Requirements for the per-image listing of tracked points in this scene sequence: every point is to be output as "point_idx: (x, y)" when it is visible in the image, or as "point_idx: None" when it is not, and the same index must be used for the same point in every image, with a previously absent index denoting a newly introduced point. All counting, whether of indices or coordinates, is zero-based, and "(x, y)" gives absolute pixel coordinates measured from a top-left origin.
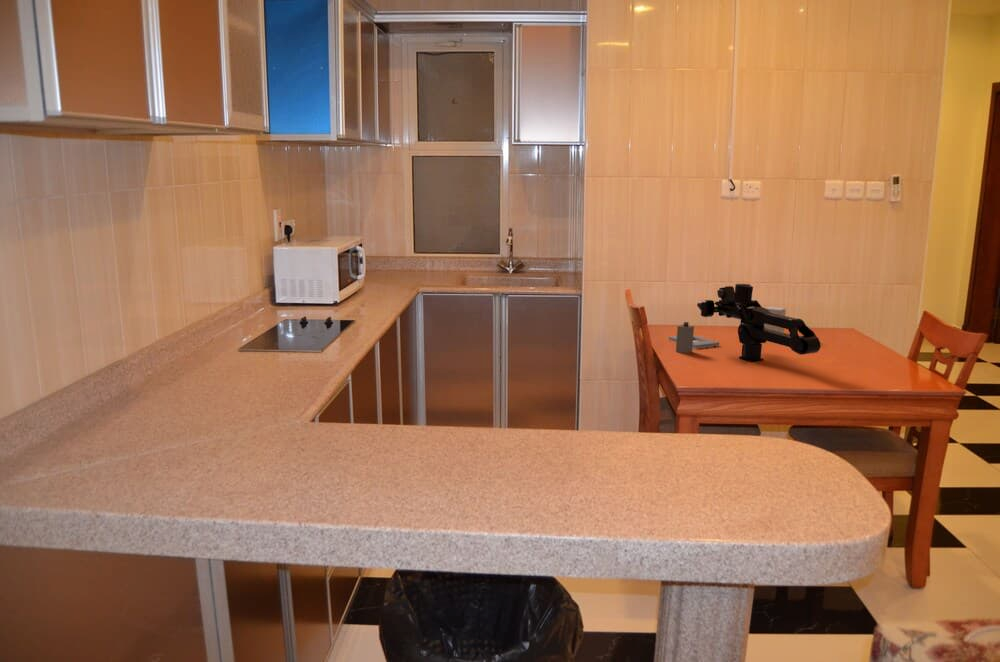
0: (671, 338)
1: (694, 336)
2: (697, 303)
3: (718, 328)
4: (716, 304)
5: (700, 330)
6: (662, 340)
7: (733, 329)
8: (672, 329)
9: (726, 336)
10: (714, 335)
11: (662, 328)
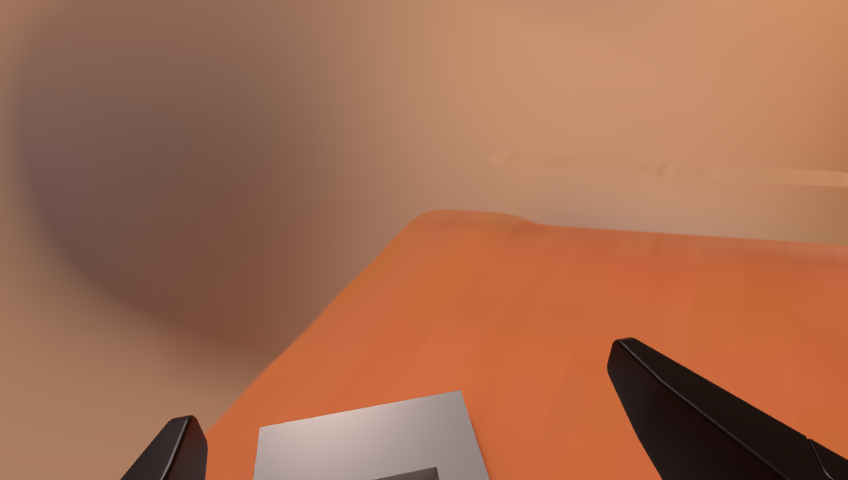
0: (257, 458)
1: (446, 450)
2: (168, 426)
3: (692, 264)
4: (627, 396)
5: (585, 282)
6: (227, 437)
7: (777, 284)
8: (453, 257)
9: None
10: None
11: (418, 243)
